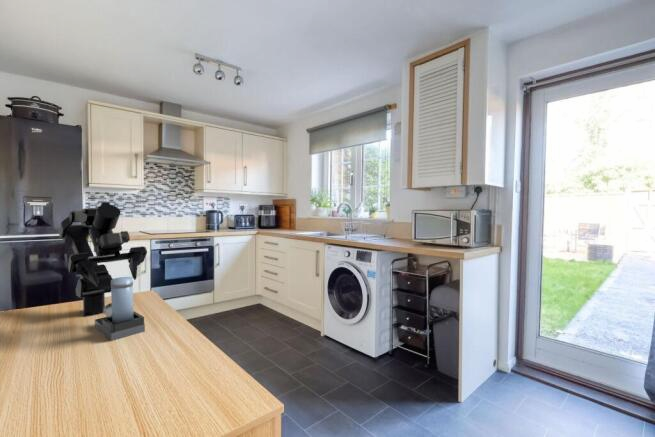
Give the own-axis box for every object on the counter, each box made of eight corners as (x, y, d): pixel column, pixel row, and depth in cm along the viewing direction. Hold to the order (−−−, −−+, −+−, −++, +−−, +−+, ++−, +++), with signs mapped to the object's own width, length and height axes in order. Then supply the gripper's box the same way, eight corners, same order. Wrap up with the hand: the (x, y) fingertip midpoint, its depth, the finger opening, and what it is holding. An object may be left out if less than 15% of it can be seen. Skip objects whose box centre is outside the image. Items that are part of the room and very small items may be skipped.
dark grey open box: (94, 326, 90) (94, 306, 90) (125, 318, 96) (125, 299, 96) (111, 340, 81) (110, 318, 80) (144, 331, 87) (144, 310, 86)
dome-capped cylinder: (107, 327, 85) (105, 280, 84) (125, 320, 89) (123, 276, 89) (120, 329, 83) (119, 281, 82) (138, 322, 88) (137, 277, 87)
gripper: (67, 225, 83) (80, 271, 77) (143, 220, 97) (159, 259, 91) (63, 250, 89) (74, 296, 82) (135, 243, 103) (150, 281, 97)
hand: (117, 282), depth 88 cm, fingers open, 9 cm apart
